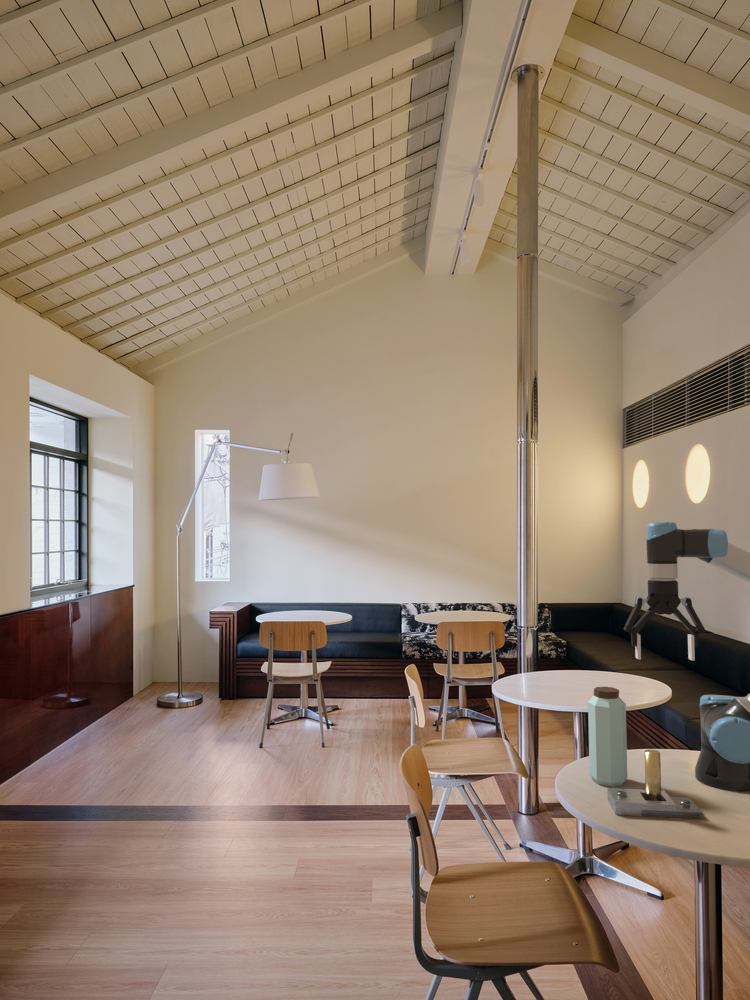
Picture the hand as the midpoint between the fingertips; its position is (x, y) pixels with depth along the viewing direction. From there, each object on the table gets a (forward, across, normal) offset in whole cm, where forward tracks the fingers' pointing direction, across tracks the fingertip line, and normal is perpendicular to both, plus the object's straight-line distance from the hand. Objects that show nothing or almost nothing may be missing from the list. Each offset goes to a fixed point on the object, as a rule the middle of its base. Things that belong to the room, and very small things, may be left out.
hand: (664, 659), depth 176 cm
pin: (+35, +7, +12) cm, 37 cm away
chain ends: (+35, +7, +12) cm, 37 cm away
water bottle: (+35, +14, -6) cm, 38 cm away
